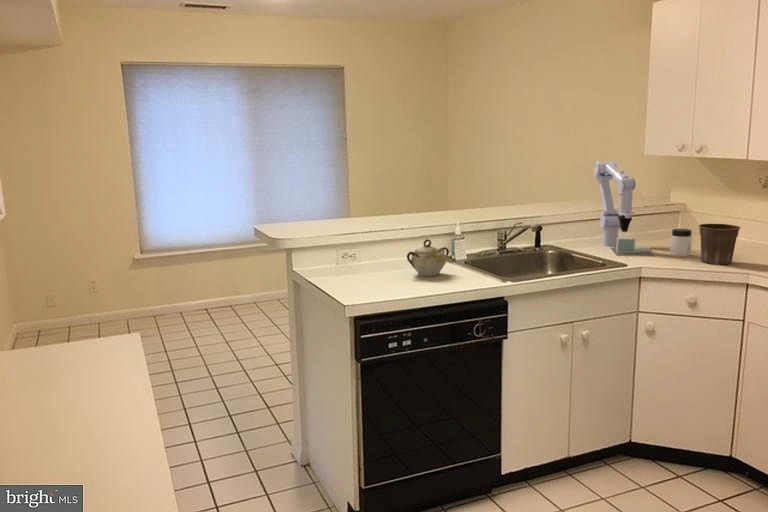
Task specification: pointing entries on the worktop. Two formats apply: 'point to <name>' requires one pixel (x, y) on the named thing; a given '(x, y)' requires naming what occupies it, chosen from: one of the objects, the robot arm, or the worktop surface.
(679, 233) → the jar
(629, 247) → the tile
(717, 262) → the plant pot
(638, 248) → the tile
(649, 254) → the mat
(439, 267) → the sugar bowl
